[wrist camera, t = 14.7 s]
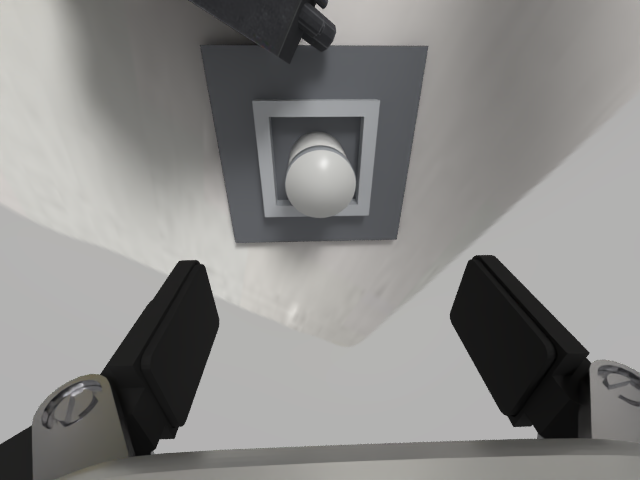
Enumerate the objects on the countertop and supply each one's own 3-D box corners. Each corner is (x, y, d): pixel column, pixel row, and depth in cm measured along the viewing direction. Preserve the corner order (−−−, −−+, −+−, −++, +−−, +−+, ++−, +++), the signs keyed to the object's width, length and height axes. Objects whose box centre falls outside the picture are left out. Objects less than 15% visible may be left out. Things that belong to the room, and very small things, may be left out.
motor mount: (423, 47, 23) (435, 44, 21) (394, 235, 32) (400, 246, 30) (204, 46, 23) (193, 43, 20) (237, 238, 32) (232, 250, 30)
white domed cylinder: (346, 130, 25) (359, 149, 19) (343, 186, 28) (353, 218, 22) (287, 130, 25) (282, 149, 19) (290, 186, 28) (286, 218, 22)
